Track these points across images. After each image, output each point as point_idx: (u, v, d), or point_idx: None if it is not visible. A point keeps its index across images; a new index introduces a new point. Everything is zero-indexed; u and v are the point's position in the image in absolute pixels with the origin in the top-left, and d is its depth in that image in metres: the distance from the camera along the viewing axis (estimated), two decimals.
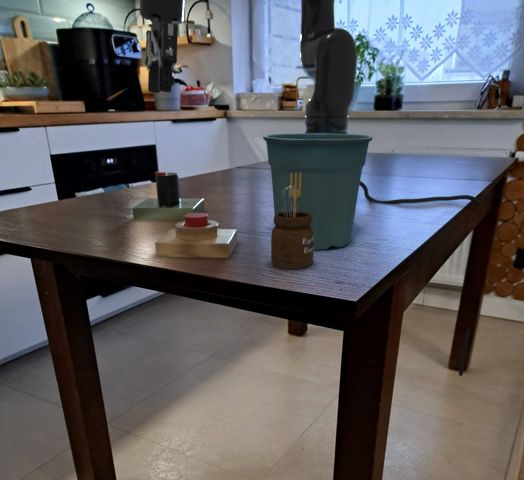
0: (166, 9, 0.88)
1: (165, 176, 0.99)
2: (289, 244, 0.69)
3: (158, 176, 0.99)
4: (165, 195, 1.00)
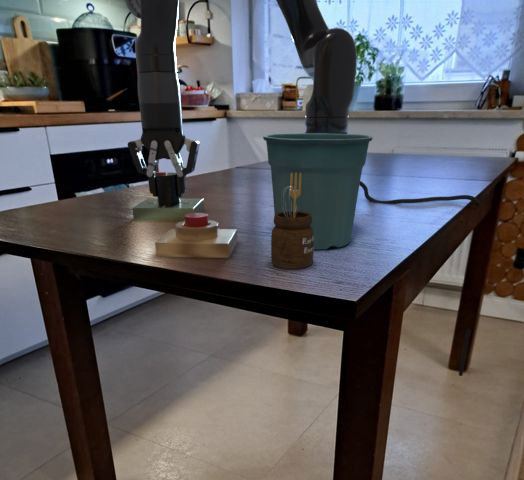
0: (181, 121, 0.96)
1: (165, 176, 0.99)
2: (289, 244, 0.69)
3: (158, 176, 0.99)
4: (165, 195, 1.00)
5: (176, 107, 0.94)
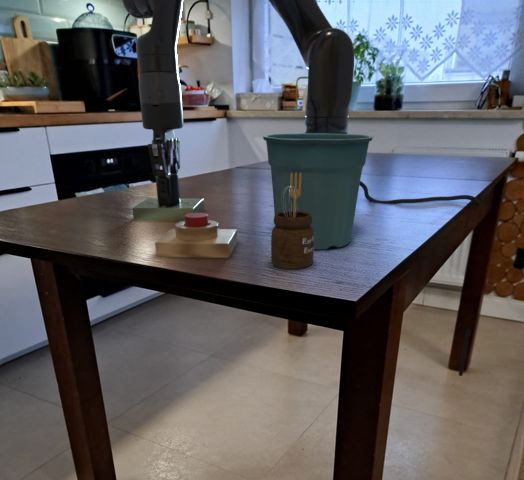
0: None
1: None
2: (289, 244, 0.69)
3: (175, 175, 1.00)
4: (179, 193, 1.02)
5: None
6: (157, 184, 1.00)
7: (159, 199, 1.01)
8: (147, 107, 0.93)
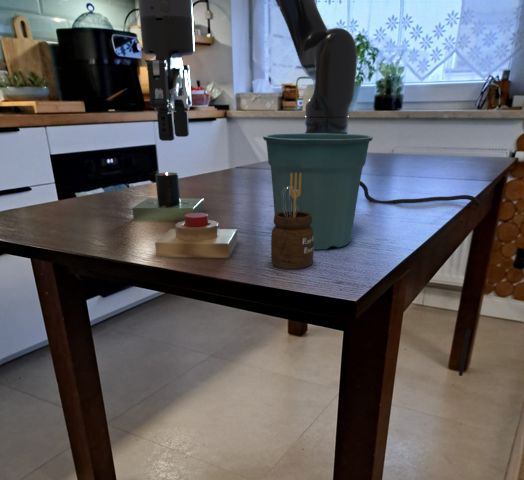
0: None
1: (177, 174, 1.01)
2: (289, 244, 0.69)
3: (174, 175, 1.00)
4: (179, 193, 1.02)
5: None
6: (157, 184, 1.00)
7: (159, 199, 1.01)
8: (148, 22, 0.71)
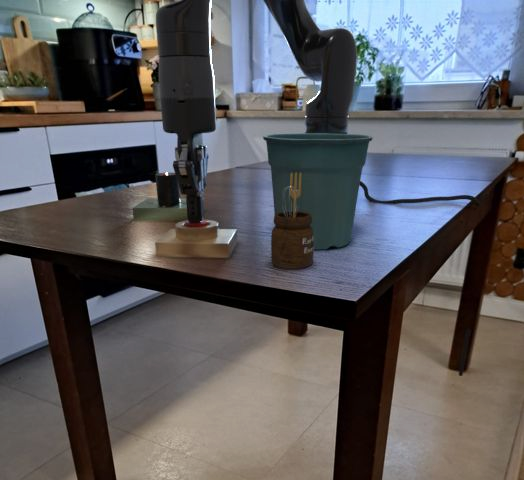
0: None
1: None
2: (289, 244, 0.69)
3: (174, 175, 1.00)
4: (179, 193, 1.02)
5: None
6: (157, 184, 1.00)
7: (159, 199, 1.01)
8: (170, 104, 0.69)
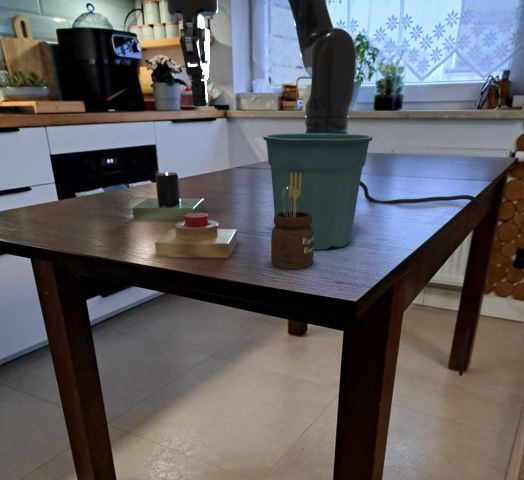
0: None
1: (177, 174, 1.01)
2: (289, 244, 0.69)
3: (174, 175, 1.00)
4: (179, 193, 1.02)
5: None
6: (157, 184, 1.00)
7: (159, 199, 1.01)
8: None
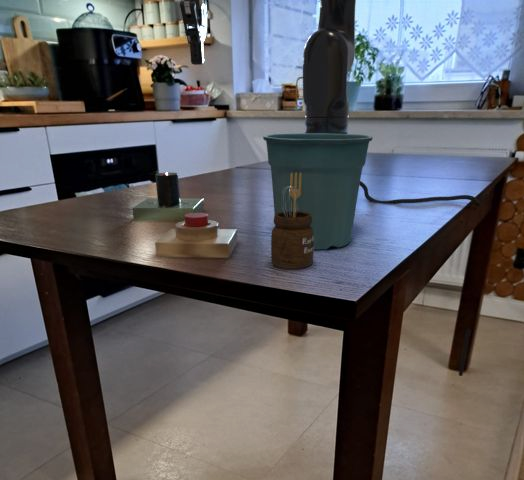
0: None
1: (177, 174, 1.01)
2: (289, 244, 0.69)
3: (174, 175, 1.00)
4: (179, 193, 1.02)
5: None
6: (157, 184, 1.00)
7: (159, 199, 1.01)
8: None
